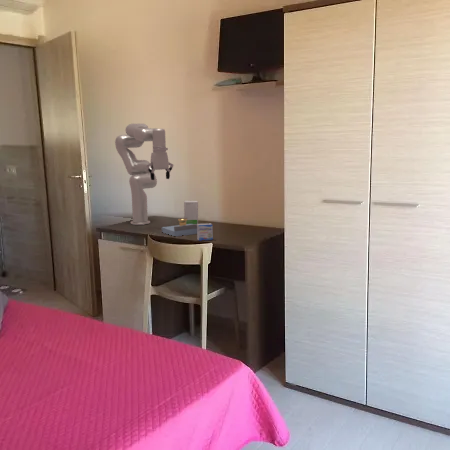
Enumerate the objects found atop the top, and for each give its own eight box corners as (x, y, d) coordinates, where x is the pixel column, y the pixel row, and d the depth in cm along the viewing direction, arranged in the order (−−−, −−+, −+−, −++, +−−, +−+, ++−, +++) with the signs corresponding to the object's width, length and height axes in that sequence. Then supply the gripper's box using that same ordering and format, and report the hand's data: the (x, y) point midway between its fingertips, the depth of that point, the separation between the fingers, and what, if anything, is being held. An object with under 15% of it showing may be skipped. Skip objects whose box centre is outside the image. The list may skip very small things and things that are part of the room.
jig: (161, 232, 303) (161, 223, 302) (191, 228, 314) (191, 219, 313) (174, 236, 290) (173, 227, 289) (205, 232, 300) (205, 223, 299)
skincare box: (185, 227, 318) (184, 202, 316) (184, 225, 325) (183, 200, 322) (198, 226, 320) (198, 201, 317) (197, 224, 326) (196, 200, 324)
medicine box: (198, 241, 278) (198, 225, 276) (197, 239, 282) (196, 223, 281) (213, 240, 280) (212, 224, 278) (211, 238, 284) (210, 222, 282)
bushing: (176, 232, 302) (176, 218, 301) (184, 231, 305) (184, 217, 304) (181, 233, 298) (180, 220, 297) (189, 232, 301) (188, 219, 299)
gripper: (169, 149, 311) (170, 178, 314) (143, 150, 302) (144, 179, 305) (175, 149, 305) (176, 178, 308) (148, 150, 296) (149, 180, 299)
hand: (160, 179), depth 306 cm, fingers open, 9 cm apart
